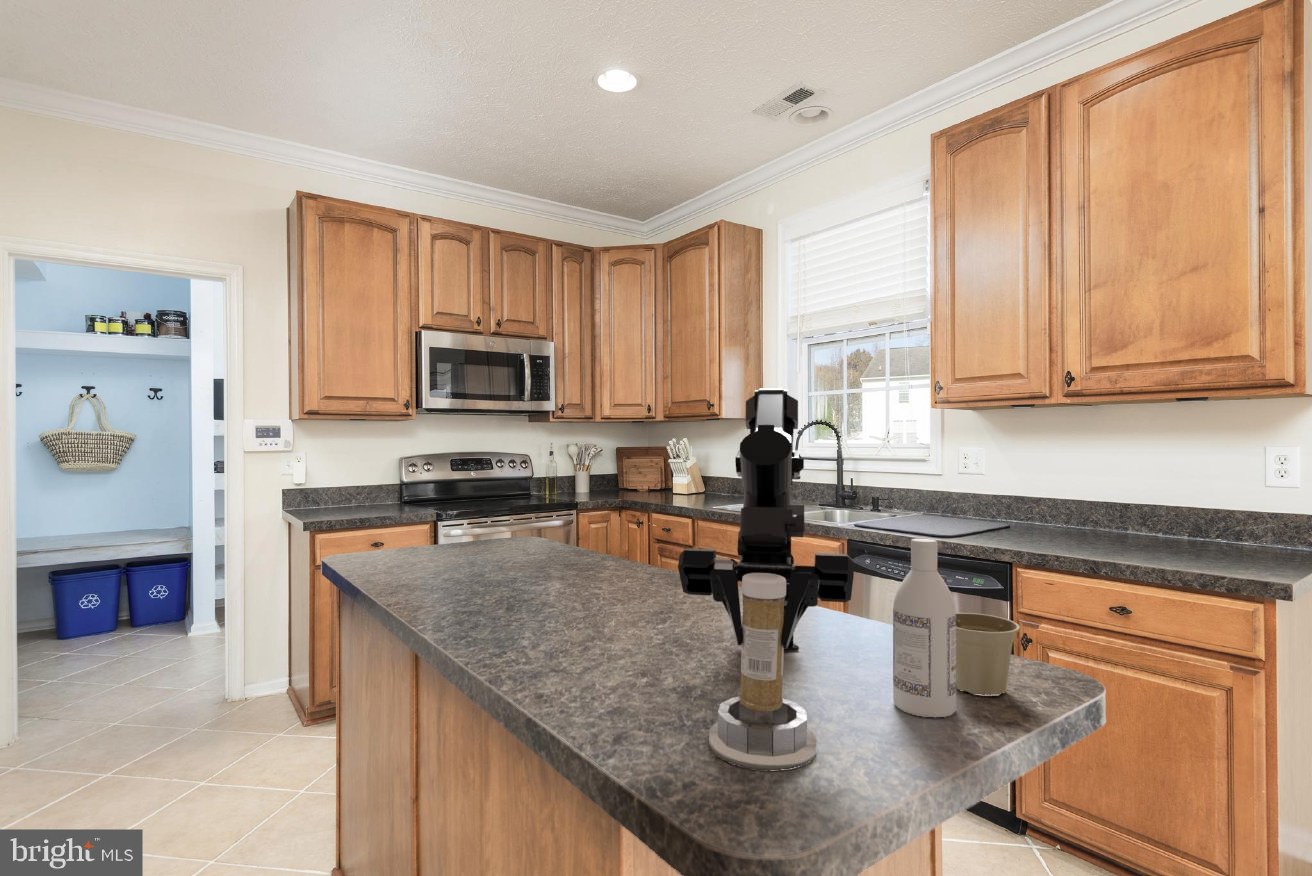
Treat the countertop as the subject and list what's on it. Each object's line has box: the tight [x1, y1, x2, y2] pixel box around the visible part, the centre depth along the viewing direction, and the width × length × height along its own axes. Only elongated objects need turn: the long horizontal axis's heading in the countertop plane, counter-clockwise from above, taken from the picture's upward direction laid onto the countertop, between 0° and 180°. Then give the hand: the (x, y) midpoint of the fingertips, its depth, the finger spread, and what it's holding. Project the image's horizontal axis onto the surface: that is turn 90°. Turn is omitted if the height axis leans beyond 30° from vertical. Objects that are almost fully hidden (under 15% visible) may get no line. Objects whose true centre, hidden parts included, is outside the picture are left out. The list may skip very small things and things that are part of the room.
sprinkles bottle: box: [739, 573, 786, 712], centre depth 69 cm, size 5×5×13 cm
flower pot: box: [956, 612, 1021, 695], centre depth 85 cm, size 9×9×9 cm
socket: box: [708, 696, 818, 772], centre depth 69 cm, size 11×11×4 cm
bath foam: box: [892, 538, 957, 719], centre depth 79 cm, size 7×7×20 cm
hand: (761, 644), depth 68 cm, fingers closed on sprinkles bottle, 4 cm apart
